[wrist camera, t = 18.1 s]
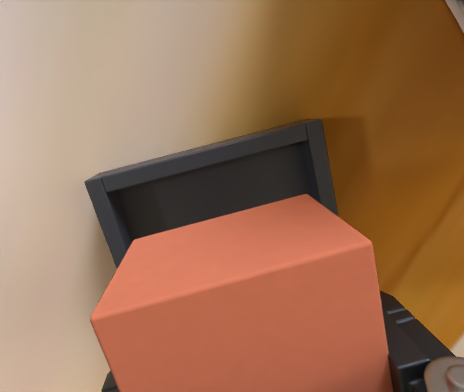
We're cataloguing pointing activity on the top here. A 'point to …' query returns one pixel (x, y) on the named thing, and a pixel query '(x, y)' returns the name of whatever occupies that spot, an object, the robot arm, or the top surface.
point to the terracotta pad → (248, 306)
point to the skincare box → (457, 11)
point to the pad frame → (212, 182)
